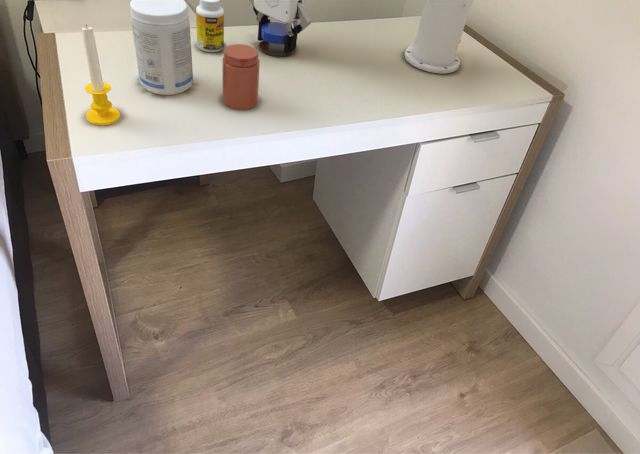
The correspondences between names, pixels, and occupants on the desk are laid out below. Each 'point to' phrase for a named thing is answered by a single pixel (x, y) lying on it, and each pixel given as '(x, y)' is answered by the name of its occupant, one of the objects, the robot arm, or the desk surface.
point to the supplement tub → (162, 45)
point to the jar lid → (274, 32)
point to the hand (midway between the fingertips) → (276, 44)
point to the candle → (97, 85)
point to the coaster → (273, 49)
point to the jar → (240, 76)
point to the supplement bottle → (210, 26)
